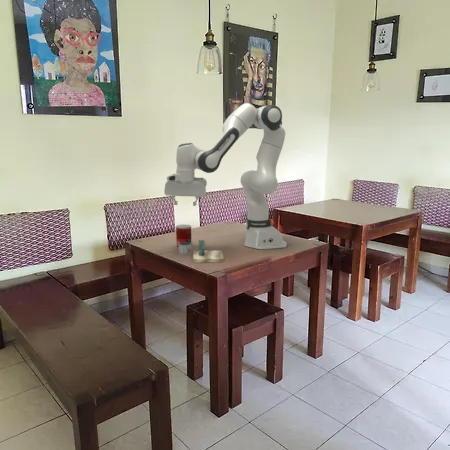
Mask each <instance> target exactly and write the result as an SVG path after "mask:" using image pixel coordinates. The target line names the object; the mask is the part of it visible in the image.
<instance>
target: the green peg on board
mask: <svg viewBox="0 0 450 450" xmlns="http://www.w3.org/2000/svg"><path fill="white" fill-rule="evenodd" d="M192 253H193V255H192V260H193V261H192V263H194V264H195V263H200V264H201V263H224V261H225V260H224V255H223V251H222V249H220V250H215V249H214V250H206V249H205V239H199V240H198V250H192Z"/></svg>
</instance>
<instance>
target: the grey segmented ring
mask: <svg viewBox="0 0 450 450" xmlns="http://www.w3.org/2000/svg"><path fill="white" fill-rule="evenodd" d="M178 253H179V254H180V255H190V254H192V253H193V244H192V241H191V242H181V243H179V248H178Z"/></svg>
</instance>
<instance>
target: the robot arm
mask: <svg viewBox="0 0 450 450" xmlns="http://www.w3.org/2000/svg"><path fill="white" fill-rule="evenodd" d="M282 119H283V112H282V109H281V108H280V107H278V106H277V105H275V104H266V105H263V106H260V107H258V108H257V107H255V106H254V105H253V104H252V103H249V102H245V103H243V104H241V105H240V106H239V107H237V108H236V109H235V110H234V111H232V112H231V114H230V115H229V116H228V117H227V118H226V119H225V121H224V122H223V123H222V132H223V134H222V136H221V137H220V139H219V140H218V142H217V143H216V144H214V146H213V147H212V148H211V149H209V150H204V149H203V148H200V147H198V146H196V145H195V144H194V143H192V142H186V143H182V144H179V145H178V146H177V149H176V155H175V156H176V161H175V162H176V170H175V171H176V172H175V173H173V174H171V175H170V174H169V175H167V177H166V182H165V185H164V190H163V191H164V195H165V196H167V197H168V196H170V197H171V199H172V202H173V205H174V206H178V202H179V201H178V200H176V197H194V198H195V201H193V202H192V206H193V207H194V206H195V207H197V202H198V200H199V198H205V197H206V195H207V190H206V188H207V179H206V178H204V177H196V176H195V171H196V169H198V170H200V171H202V172H204V173H206V174H211V173H214V172H216V171H217V170H218V169H219V167H220V165H221V162H222V159H223V158H224V157H225V155H226V154H227V153H228V152H229V150H230V149H232V147H233V146H234V144H235V143H236V142H237V141H238V140H239V139H240V137H242V136H243V135H244V134H245V133H246V132H247V130H248V129H249V128H250V127H253V128H255V129H257V130H263V137H262V140H261V142H260V145H259V147H258V149H257V150H258V151H257V154H256V156H255V157H256V161H257V166H256V167H257V168H256V170H254V169H252V170H247V171H245V172H243V173H242V175H241V176H240V185H241V186H242V189H244V190H243V191H244V193H245V194H244V195H245V199H246V203H247V205H246V208H247V211H246V213H247V217H246V223H245V224H246V226H245V227H246V234H245V235H246V236H245V240H244V243H243V245H244V246H245V247H248V248H253V249H257V250H269V249H281V248H287V242H286V241H285V240H284V239H283V234H282V233H281V232H280V231H279V230H278V229H277V228H276V227H275V226H273V225H274V224H275V221H274V220H272V219H270V218H269V212H270V211H269V210H270V209H269V206H270V205H269V202H268V201H267V199H266V195H268V194H269V195H270V194H272V193H274V192H275V191H276V190H277V188H278V187H279V186H278V185H279V181H278V179H277V173H276V172H277V164H278V162H279V158H280V155H281V152H282V149H283V146H284V143H285V138H286V130H285V129H284V127H282V125H283V120H282Z"/></svg>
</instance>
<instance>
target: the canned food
mask: <svg viewBox="0 0 450 450" xmlns="http://www.w3.org/2000/svg"><path fill="white" fill-rule="evenodd" d="M175 240H176V247H177V248H178V249H179V243H181V242H191V243H192V225H190V224H177V225H175Z"/></svg>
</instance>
